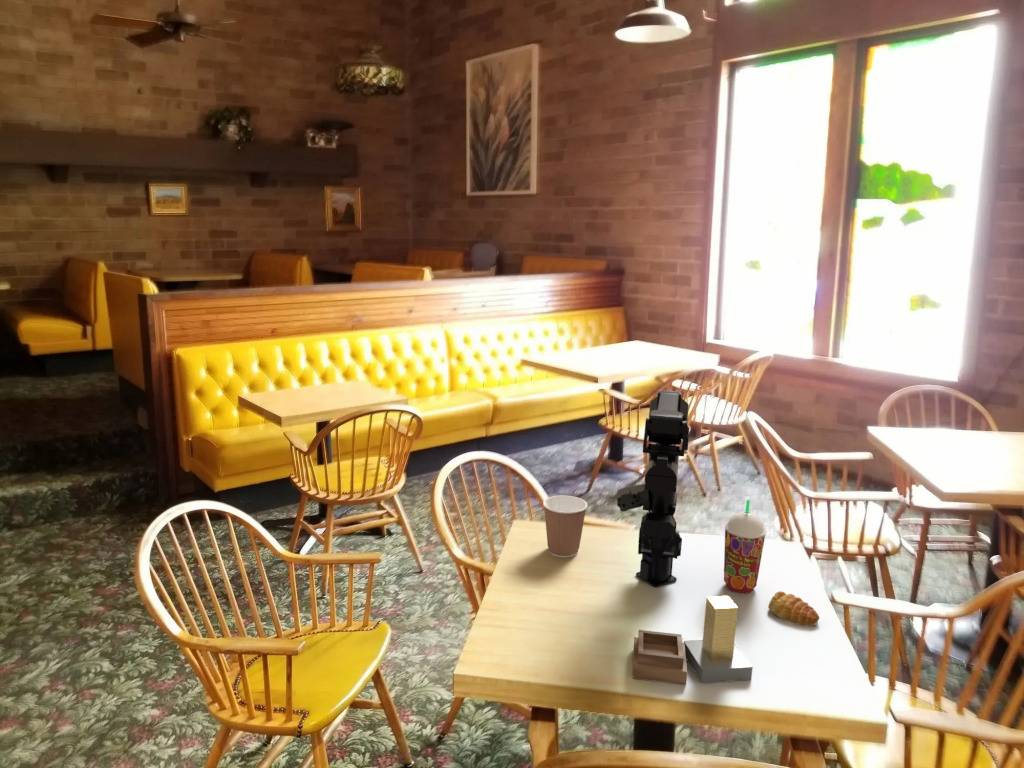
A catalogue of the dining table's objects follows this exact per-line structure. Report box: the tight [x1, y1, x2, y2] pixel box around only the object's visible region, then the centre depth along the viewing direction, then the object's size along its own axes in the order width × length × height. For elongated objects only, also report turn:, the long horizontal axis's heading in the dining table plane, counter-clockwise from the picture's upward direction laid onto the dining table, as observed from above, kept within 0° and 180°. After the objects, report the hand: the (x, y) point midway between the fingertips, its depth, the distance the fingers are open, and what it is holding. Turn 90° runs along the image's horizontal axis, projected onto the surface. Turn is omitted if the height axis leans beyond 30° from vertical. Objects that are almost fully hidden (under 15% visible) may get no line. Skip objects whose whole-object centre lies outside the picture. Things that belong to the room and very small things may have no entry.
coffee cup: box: [542, 495, 588, 558], centre depth 177 cm, size 10×10×12 cm
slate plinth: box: [683, 639, 753, 684], centre depth 135 cm, size 9×9×2 cm
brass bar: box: [702, 595, 739, 661], centre depth 133 cm, size 4×4×10 cm
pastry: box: [768, 591, 820, 627], centre depth 152 cm, size 9×7×4 cm
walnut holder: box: [632, 629, 688, 686], centre depth 134 cm, size 9×9×4 cm
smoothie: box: [723, 499, 767, 594], centre depth 161 cm, size 8×8×20 cm
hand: (656, 551), depth 150 cm, fingers open, 9 cm apart
